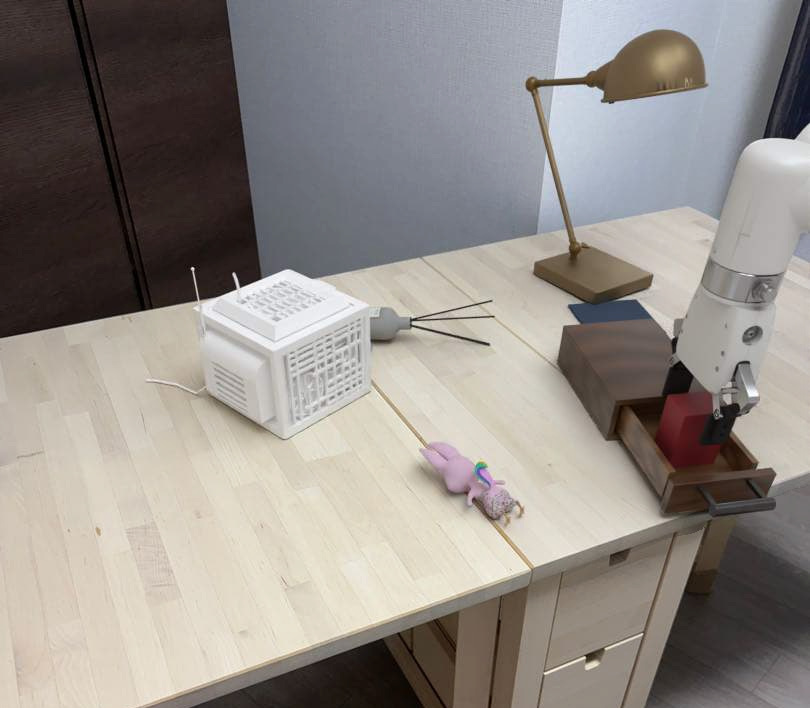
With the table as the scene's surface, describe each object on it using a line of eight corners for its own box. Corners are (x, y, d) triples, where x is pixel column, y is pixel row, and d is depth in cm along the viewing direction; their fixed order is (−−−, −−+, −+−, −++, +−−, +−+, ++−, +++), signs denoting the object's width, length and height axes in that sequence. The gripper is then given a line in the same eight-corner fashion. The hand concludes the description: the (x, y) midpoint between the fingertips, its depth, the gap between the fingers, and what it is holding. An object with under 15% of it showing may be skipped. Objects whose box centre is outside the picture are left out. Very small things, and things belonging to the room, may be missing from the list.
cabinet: (703, 430, 98) (717, 390, 94) (606, 440, 96) (615, 400, 92) (642, 355, 112) (652, 318, 108) (556, 363, 110) (563, 325, 106)
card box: (697, 441, 93) (715, 390, 88) (714, 463, 90) (734, 411, 84) (652, 446, 92) (667, 394, 87) (667, 468, 89) (685, 416, 84)
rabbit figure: (529, 517, 87) (439, 445, 93) (542, 482, 82) (447, 409, 88) (493, 543, 84) (403, 466, 90) (506, 508, 79) (409, 430, 85)
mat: (635, 301, 125) (636, 299, 125) (666, 335, 116) (667, 333, 116) (567, 306, 123) (568, 304, 123) (593, 341, 115) (594, 339, 114)
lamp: (612, 316, 120) (669, 43, 95) (482, 248, 140) (500, 9, 115) (675, 294, 126) (744, 32, 101) (541, 232, 147) (570, 2, 122)
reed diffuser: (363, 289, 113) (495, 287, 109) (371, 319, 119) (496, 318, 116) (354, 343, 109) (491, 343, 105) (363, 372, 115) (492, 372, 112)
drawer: (786, 529, 83) (800, 500, 80) (682, 543, 81) (693, 512, 78) (691, 413, 99) (700, 385, 96) (603, 422, 98) (610, 393, 94)
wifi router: (378, 387, 105) (376, 261, 92) (260, 455, 93) (239, 321, 80) (263, 328, 117) (248, 209, 104) (145, 381, 105) (112, 254, 92)
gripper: (824, 315, 70) (759, 460, 81) (733, 242, 82) (688, 377, 94) (751, 320, 69) (696, 467, 80) (670, 245, 81) (632, 382, 93)
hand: (692, 418), depth 87 cm, fingers open, 9 cm apart
